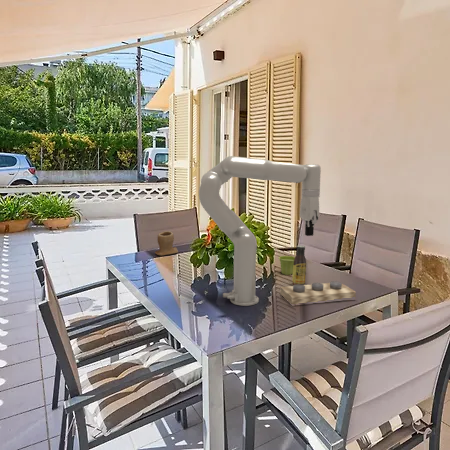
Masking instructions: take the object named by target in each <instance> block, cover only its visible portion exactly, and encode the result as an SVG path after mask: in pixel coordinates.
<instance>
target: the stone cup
mask: <svg viewBox="0 0 450 450" xmlns="http://www.w3.org/2000/svg"><path fill="white" fill-rule="evenodd" d="M174 240H175V235H174V233H173V232H172V231H169V230H168V231H167V230H165V231H162V232H159V233H158V234H157V244H158V246H159V247H158V248H159V249H158V250H156V251H154V253H155V255H157V256H161V257H162V256H168V255H173V254H178V253H179V250H178V248H177V247H176V246H174V247H173V244H174Z"/></svg>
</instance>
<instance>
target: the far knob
mask: <svg viewBox="0 0 450 450" xmlns="http://www.w3.org/2000/svg"><path fill="white" fill-rule="evenodd" d="M329 283H330V288H332V289H341V288H342V284H343V283H342V282H340V281H337V280H336V281H330V282H329Z"/></svg>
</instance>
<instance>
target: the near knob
mask: <svg viewBox="0 0 450 450" xmlns="http://www.w3.org/2000/svg"><path fill="white" fill-rule="evenodd" d="M292 286H293V291H294V292H298V293H301V292H305V286H304V285H300V284H296V285H293V284H292Z"/></svg>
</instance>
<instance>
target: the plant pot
mask: <svg viewBox="0 0 450 450" xmlns="http://www.w3.org/2000/svg"><path fill="white" fill-rule="evenodd" d="M295 257H296V256H293V255H281V256H279V257H278V259H279V263H280V272H281V274H283V275H285V276H290V275H293V264H294V259H295Z"/></svg>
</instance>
